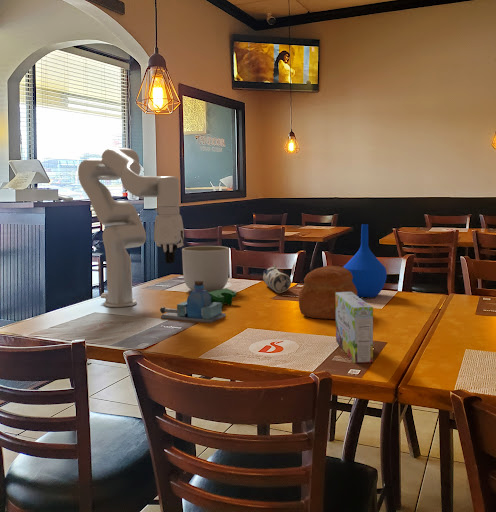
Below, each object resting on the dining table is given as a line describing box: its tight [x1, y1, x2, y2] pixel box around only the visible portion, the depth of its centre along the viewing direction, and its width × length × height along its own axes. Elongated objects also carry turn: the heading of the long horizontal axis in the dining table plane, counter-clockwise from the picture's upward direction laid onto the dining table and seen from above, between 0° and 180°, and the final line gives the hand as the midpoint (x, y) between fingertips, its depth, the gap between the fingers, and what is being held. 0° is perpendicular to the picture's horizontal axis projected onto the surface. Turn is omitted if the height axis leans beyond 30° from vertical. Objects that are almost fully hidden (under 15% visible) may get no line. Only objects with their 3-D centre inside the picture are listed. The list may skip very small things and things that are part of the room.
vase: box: [343, 223, 388, 298], centre depth 233 cm, size 18×18×30 cm
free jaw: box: [159, 300, 188, 316], centre depth 201 cm, size 10×10×4 cm
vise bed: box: [160, 302, 226, 324], centre depth 199 cm, size 20×11×5 cm, turn 67°
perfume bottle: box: [186, 281, 211, 317], centre depth 198 cm, size 6×6×12 cm
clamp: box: [208, 287, 237, 308], centre depth 218 cm, size 12×6×9 cm, turn 134°
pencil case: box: [262, 264, 292, 294], centre depth 251 cm, size 22×8×10 cm, turn 10°
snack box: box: [335, 292, 374, 364], centre depth 155 cm, size 21×6×15 cm, turn 5°
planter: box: [181, 245, 230, 292], centre depth 250 cm, size 21×21×19 cm
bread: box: [298, 265, 357, 320], centre depth 202 cm, size 18×22×17 cm
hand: (170, 262), depth 201 cm, fingers closed
